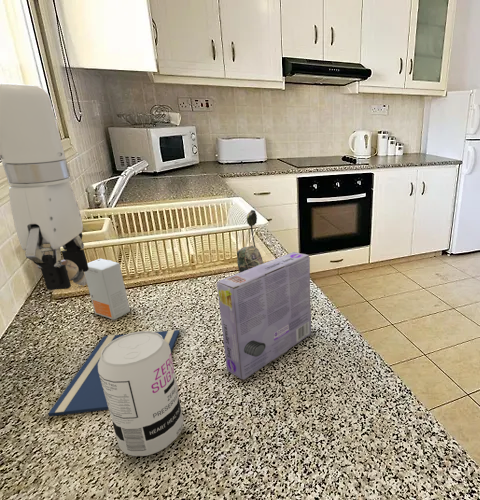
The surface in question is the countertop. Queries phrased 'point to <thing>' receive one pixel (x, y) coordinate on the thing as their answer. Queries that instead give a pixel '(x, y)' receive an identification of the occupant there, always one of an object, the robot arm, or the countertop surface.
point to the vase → (74, 272)
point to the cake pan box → (264, 312)
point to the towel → (93, 382)
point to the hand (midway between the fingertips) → (69, 278)
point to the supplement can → (141, 392)
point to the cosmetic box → (107, 288)
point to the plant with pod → (249, 249)
